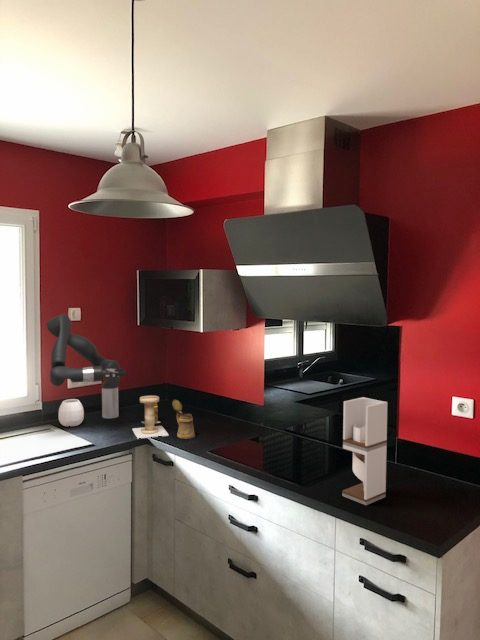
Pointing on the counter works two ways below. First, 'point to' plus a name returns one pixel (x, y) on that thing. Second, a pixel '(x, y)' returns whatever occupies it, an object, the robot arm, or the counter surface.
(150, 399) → the wooden spool
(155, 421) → the condiment
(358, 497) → the display case
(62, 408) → the white faceted vase
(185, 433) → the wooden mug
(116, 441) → the counter surface
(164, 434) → the mat
